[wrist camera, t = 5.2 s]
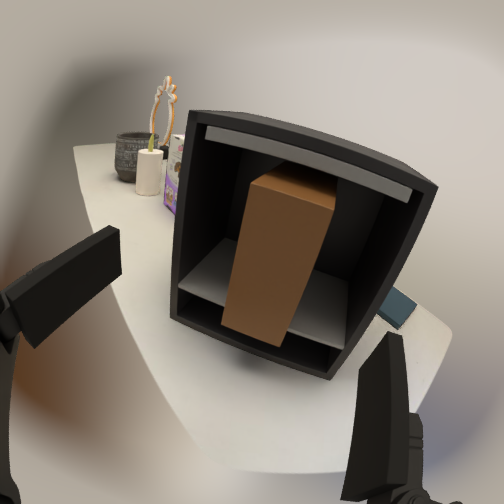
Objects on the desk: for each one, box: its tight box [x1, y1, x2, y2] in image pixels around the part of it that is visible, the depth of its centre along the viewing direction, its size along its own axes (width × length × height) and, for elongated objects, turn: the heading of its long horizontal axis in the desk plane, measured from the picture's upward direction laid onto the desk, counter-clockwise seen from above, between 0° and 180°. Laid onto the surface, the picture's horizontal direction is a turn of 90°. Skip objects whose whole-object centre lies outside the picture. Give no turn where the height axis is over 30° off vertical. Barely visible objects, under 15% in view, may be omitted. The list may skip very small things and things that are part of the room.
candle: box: [136, 134, 163, 196], centre depth 61 cm, size 6×6×15 cm
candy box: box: [164, 135, 185, 214], centre depth 54 cm, size 14×6×16 cm, turn 40°
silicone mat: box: [377, 286, 417, 329], centre depth 45 cm, size 12×10×1 cm
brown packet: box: [221, 161, 338, 347], centre depth 27 cm, size 6×12×14 cm, turn 161°
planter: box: [115, 132, 159, 182], centre depth 68 cm, size 12×12×13 cm
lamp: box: [150, 76, 177, 159], centre depth 88 cm, size 17×9×32 cm, turn 45°
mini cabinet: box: [170, 110, 438, 380], centre depth 31 cm, size 21×14×24 cm, turn 71°
